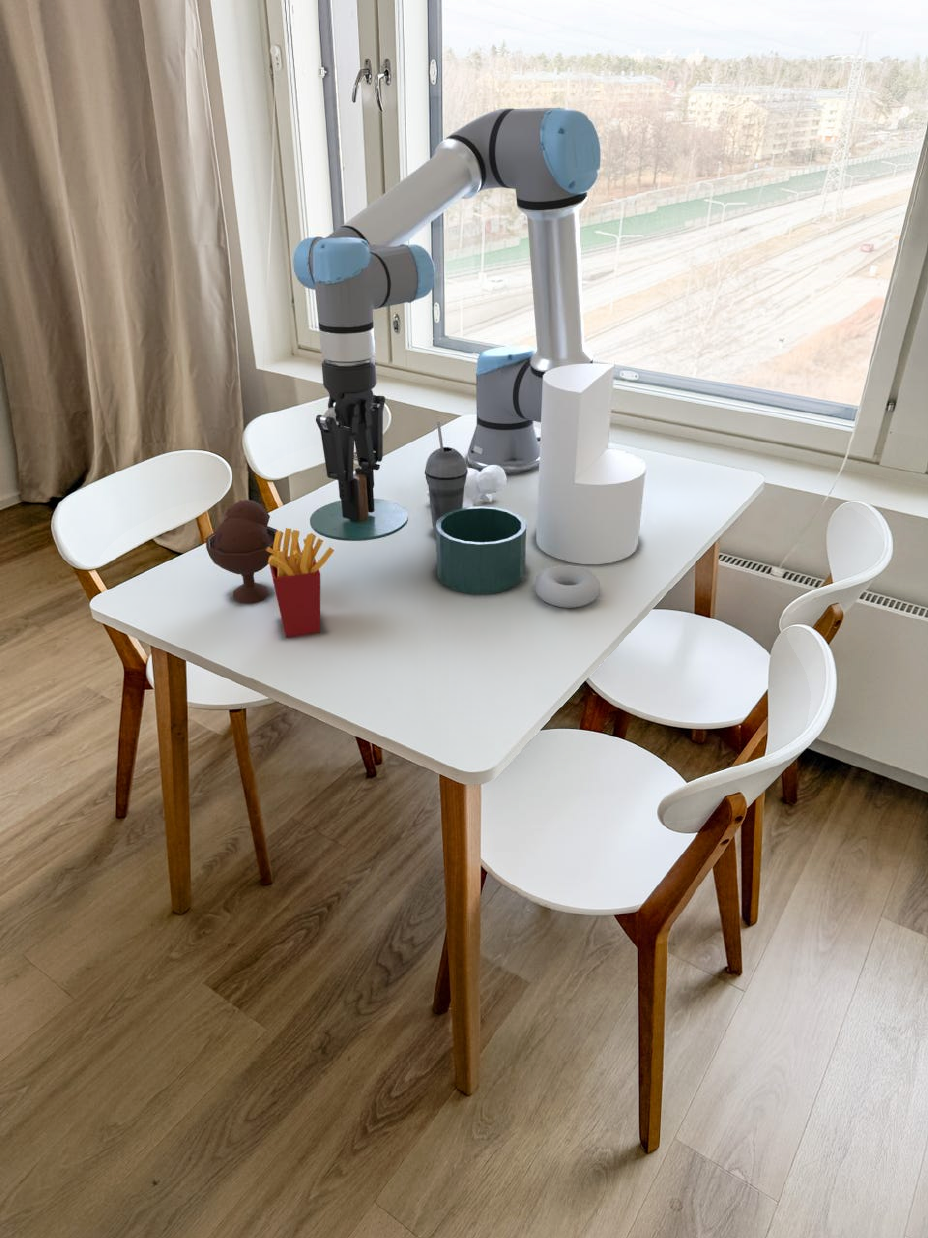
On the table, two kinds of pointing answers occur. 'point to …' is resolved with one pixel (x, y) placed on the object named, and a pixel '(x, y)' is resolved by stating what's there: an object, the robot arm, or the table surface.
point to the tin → (480, 549)
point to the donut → (567, 586)
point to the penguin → (482, 484)
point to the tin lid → (369, 526)
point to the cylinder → (585, 471)
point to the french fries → (297, 582)
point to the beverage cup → (445, 480)
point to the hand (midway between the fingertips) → (358, 513)
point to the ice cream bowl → (243, 547)
